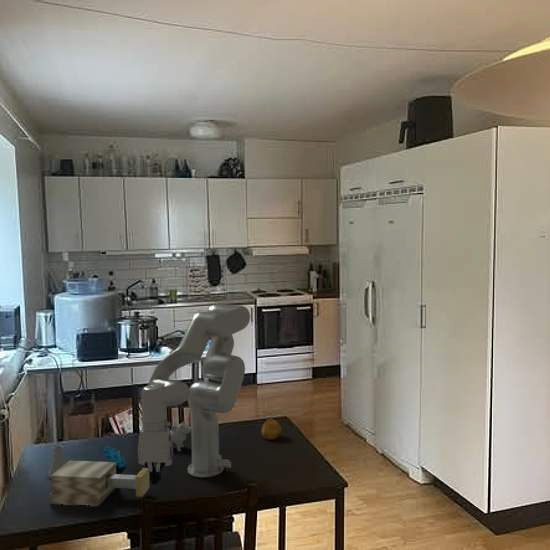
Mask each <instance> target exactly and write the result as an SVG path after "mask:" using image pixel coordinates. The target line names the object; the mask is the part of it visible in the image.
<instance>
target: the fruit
mask: <svg viewBox="0 0 550 550" xmlns="http://www.w3.org/2000/svg"><path fill="white" fill-rule="evenodd" d="M281 433H282V426H281V425H280V423H279V422H278V421H277V420H275V419H273V418H267V419H266V421H265V422H264V423H263V424H262V427H261V435H262V437H263V438H265V439H266V440H276V439H278V438H279V436H280V435H281Z"/></svg>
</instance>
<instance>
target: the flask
mask: <svg viewBox="0 0 550 550" xmlns="http://www.w3.org/2000/svg"><path fill="white" fill-rule="evenodd" d="M63 449H64V446H63V445H56V446H53V447H52V450H53V457H52V462H51V464H50V468H49V470H48V473H47V477H48V478H49V479H50V480H51V475H52V474H54V473H55V472H56V471H57V470H59V469H60V468H61V467H62V466H64V465H65V464H66V463H67V462H66V460H65V457H64V453H63V451H64V450H63Z"/></svg>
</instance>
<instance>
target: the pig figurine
mask: <svg viewBox="0 0 550 550" xmlns="http://www.w3.org/2000/svg"><path fill="white" fill-rule="evenodd" d="M170 427H171V429H170V432H171V438H172V444H173V443H174V444H175V445H176V448H177V452H182V450H181V448H184V447H185V446H184V443H183V442H184V441H186V439H187V438H188V437H187V435H188V434H190V433H191V426H189V425H187V424H186V421H182V422H181V423H179V424H178V425H177V426H176V425H175V424H173V425H171V426H170Z"/></svg>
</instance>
